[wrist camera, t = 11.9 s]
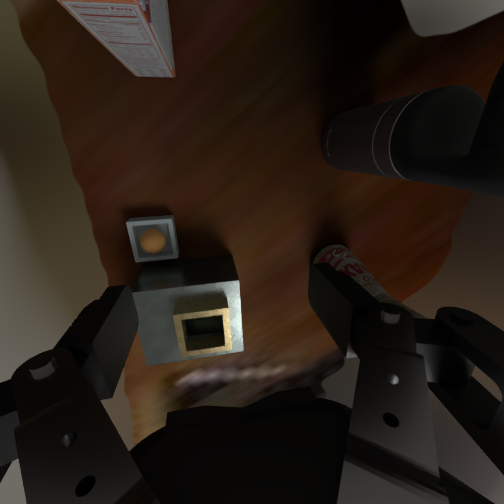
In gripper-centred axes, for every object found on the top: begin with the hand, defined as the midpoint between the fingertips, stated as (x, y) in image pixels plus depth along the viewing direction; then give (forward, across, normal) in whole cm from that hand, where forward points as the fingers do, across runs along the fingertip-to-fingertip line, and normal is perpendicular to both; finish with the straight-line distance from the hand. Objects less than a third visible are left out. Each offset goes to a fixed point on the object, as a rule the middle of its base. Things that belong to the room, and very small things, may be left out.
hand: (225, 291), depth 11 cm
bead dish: (+34, +10, +8) cm, 36 cm away
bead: (+33, +10, +8) cm, 36 cm away
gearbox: (+34, +5, +20) cm, 40 cm away
